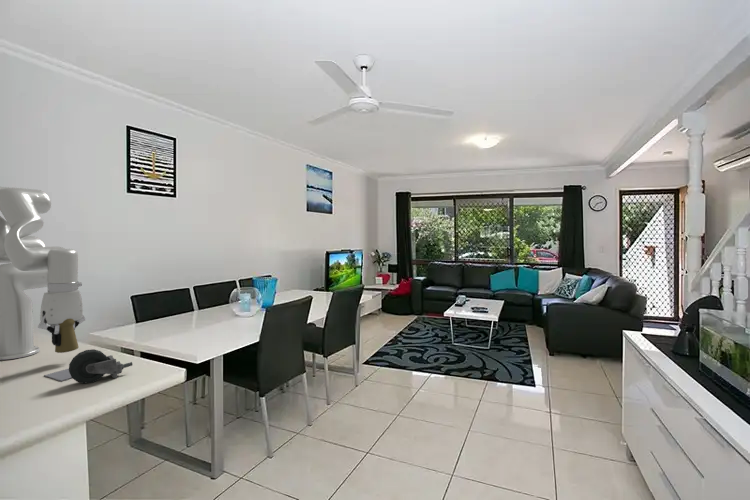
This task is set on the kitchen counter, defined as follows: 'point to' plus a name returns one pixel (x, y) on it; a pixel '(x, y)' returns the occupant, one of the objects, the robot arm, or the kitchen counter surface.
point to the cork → (67, 337)
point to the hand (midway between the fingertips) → (62, 343)
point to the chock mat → (60, 375)
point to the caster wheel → (94, 366)
